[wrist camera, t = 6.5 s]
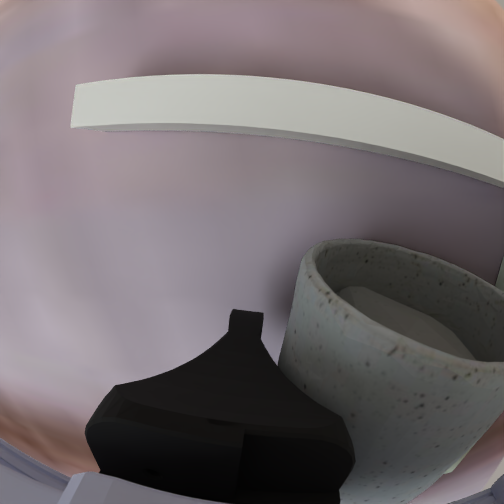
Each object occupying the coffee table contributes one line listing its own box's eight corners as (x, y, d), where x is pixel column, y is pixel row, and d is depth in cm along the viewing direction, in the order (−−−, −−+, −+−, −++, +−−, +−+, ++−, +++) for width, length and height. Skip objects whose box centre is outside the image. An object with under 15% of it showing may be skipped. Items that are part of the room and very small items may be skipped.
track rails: (419, 442, 14) (430, 470, 12) (128, 421, 15) (113, 450, 13) (518, 161, 9) (554, 165, 7) (110, 96, 10) (76, 85, 8)
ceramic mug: (257, 396, 13) (248, 545, 6) (291, 224, 11) (337, 351, 4) (441, 399, 13) (495, 499, 6) (501, 264, 11) (611, 339, 4)
